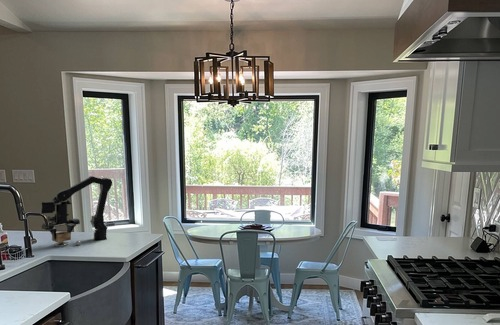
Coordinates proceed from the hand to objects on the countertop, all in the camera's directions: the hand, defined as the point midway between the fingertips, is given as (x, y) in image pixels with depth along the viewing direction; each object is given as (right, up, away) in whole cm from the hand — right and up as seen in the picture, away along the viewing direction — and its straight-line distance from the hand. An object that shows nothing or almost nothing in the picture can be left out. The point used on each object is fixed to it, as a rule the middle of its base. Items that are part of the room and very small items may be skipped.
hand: (61, 238), depth 173 cm
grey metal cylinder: (+9, -4, +1) cm, 10 cm away
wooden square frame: (0, -1, 0) cm, 1 cm away
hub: (0, -4, 0) cm, 4 cm away
